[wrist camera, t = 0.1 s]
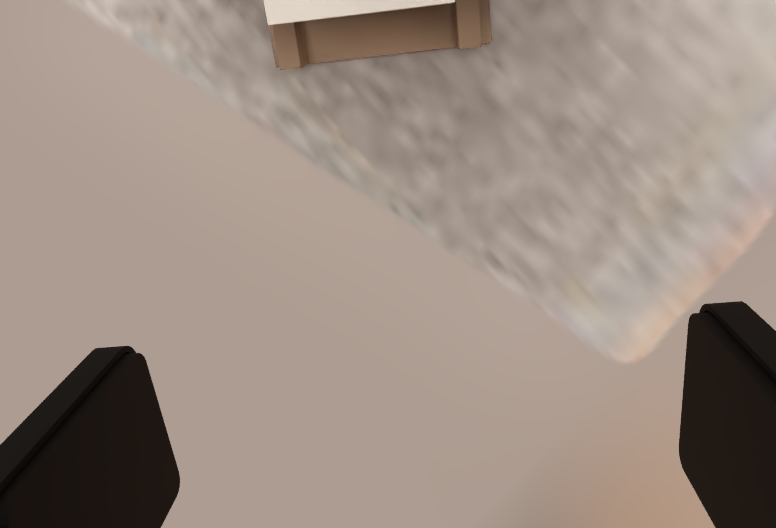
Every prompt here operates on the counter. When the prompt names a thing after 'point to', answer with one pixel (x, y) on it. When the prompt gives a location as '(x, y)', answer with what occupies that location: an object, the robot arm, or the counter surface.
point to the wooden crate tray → (382, 33)
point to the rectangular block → (335, 8)
